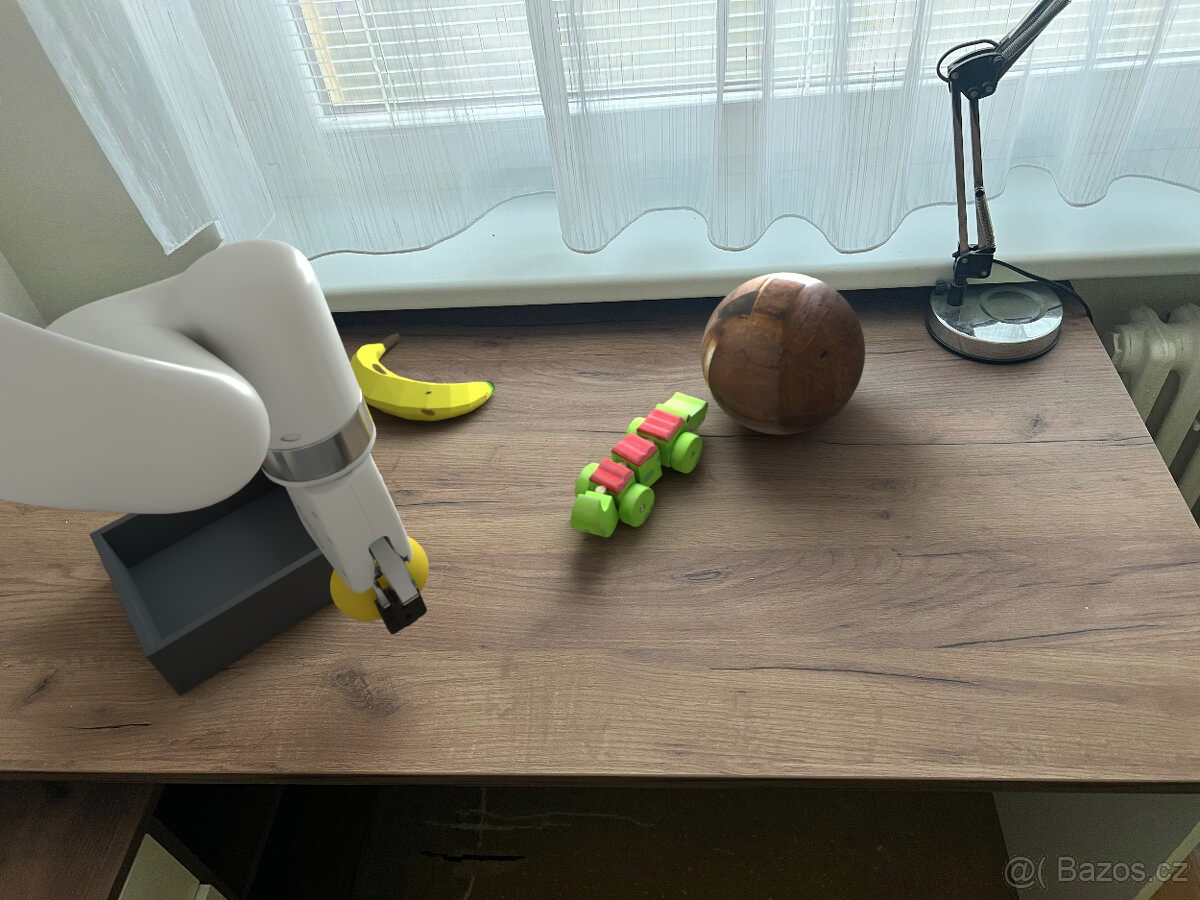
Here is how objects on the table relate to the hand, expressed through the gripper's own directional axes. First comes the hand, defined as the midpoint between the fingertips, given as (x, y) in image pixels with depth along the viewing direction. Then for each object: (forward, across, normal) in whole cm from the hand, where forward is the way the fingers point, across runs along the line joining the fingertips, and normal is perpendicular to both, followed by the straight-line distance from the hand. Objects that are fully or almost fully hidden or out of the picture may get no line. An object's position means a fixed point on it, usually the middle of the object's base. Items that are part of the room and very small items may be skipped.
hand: (387, 594), depth 68 cm
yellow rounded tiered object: (+1, 0, 0) cm, 1 cm away
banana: (+6, -28, +18) cm, 34 cm away
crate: (+6, -16, -8) cm, 19 cm away
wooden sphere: (+6, +2, +41) cm, 42 cm away
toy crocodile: (+6, 0, +26) cm, 26 cm away
